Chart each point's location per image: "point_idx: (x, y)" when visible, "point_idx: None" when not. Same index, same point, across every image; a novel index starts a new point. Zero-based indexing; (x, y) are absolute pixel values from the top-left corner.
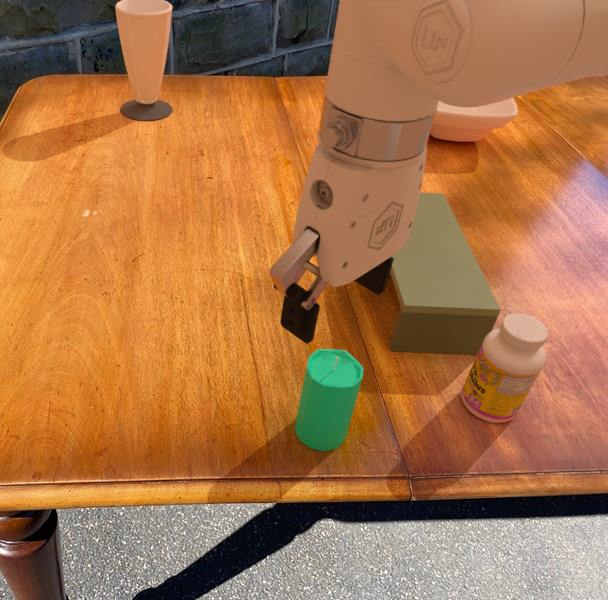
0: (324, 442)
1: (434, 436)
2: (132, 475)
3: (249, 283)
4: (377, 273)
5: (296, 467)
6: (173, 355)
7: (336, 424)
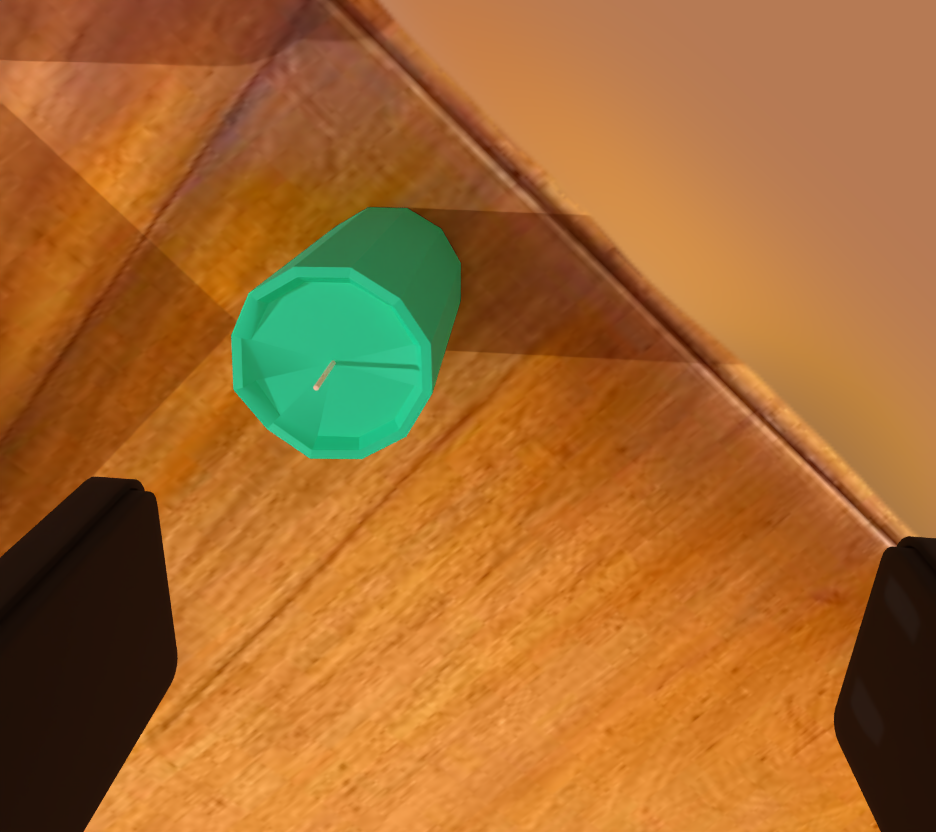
0: (439, 239)
1: (135, 16)
2: (836, 510)
3: None
4: (71, 635)
5: (538, 248)
6: (490, 675)
7: (409, 240)
